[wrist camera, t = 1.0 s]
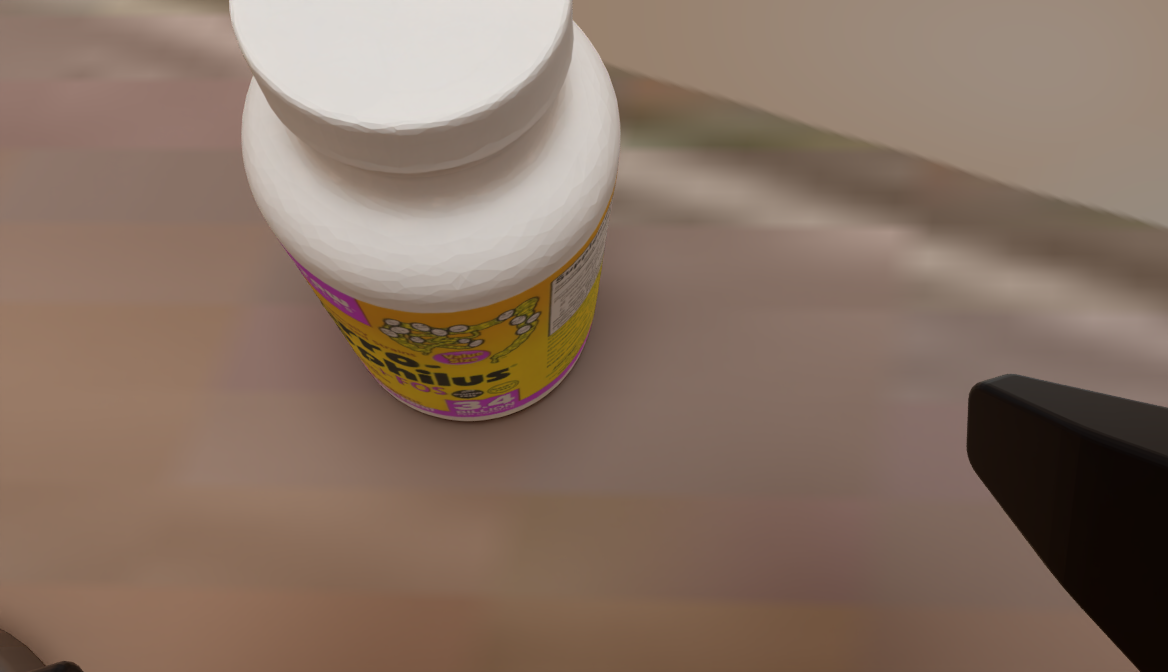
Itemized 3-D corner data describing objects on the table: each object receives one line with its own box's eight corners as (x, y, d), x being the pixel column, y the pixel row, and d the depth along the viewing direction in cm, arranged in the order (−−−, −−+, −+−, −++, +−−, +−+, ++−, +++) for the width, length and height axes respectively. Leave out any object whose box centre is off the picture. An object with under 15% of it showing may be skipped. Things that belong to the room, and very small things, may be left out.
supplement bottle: (309, 361, 23) (35, 57, 11) (431, 173, 25) (319, -261, 13) (525, 471, 22) (497, 281, 10) (632, 268, 24) (719, -97, 12)
